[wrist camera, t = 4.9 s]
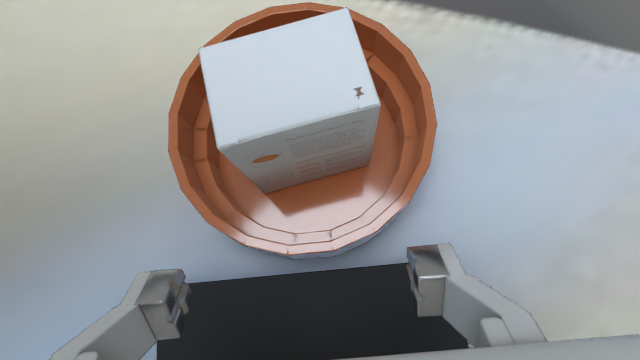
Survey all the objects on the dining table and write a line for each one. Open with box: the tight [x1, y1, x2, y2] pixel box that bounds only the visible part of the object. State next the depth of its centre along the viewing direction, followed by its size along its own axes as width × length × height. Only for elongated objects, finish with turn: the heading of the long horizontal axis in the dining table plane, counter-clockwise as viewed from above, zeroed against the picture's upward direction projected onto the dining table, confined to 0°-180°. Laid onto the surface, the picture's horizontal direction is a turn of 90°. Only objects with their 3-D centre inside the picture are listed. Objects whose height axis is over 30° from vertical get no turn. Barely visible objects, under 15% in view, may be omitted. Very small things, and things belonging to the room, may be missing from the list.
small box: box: [198, 7, 381, 194], centre depth 23 cm, size 8×6×10 cm
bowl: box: [168, 2, 437, 260], centre depth 26 cm, size 16×16×6 cm
